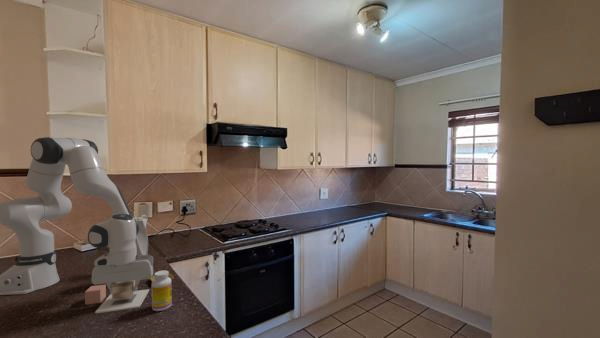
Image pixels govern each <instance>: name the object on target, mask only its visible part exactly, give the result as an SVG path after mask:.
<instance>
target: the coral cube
mask: <svg viewBox="0 0 600 338" xmlns="http://www.w3.org/2000/svg"><path fill="white" fill-rule="evenodd" d="M105 298H107V284H97V285H91V286H90V287H89V288H87V290H85V291H84V305H85V306H86V305H92V304H93V305H94V304H102V303H103V302H104V299H105Z"/></svg>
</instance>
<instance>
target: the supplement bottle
mask: <svg viewBox="0 0 600 338" xmlns="http://www.w3.org/2000/svg"><path fill="white" fill-rule="evenodd" d="M169 273H170V272H169V270H165V269H164V270H163V269H162V270H159V271H155V272H154V273H153V276H154V277H155V280H154V281H153V282H152V281H151V309H152V311H155V312H161V311H165V310H168V309H170V308H171V306H172V304H173V303H172V302H173V300H172V298H173V293H172V292H173V289H172V287H173V286H172V281H171V279H170V278H169V277H168V275H169Z"/></svg>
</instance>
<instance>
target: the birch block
mask: <svg viewBox="0 0 600 338" xmlns="http://www.w3.org/2000/svg"><path fill="white" fill-rule="evenodd" d="M134 285H136V283H135V280H133V281H124V282H117V283H116V284H115V285H114V286H113V287H112V301H118V300H126V299H131V297H132V296H133V294H134V293H135V291H133V292H132V287H133V286H134Z"/></svg>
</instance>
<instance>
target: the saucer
mask: <svg viewBox="0 0 600 338" xmlns="http://www.w3.org/2000/svg"><path fill="white" fill-rule="evenodd" d="M168 277H169V278H170V279H171V282H172V281H174V279H175V277H174V276H173V275H172V274H171V273H170V272H169V275H168ZM149 280H150V281H151V283H152V282H153V281H154V280H155V277H154V275H152V277H151V278H150V279H149Z"/></svg>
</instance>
